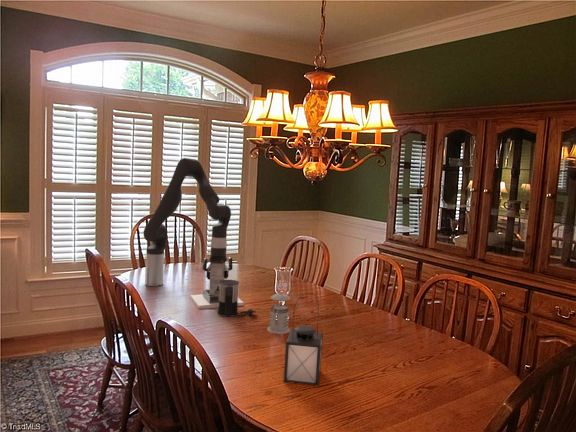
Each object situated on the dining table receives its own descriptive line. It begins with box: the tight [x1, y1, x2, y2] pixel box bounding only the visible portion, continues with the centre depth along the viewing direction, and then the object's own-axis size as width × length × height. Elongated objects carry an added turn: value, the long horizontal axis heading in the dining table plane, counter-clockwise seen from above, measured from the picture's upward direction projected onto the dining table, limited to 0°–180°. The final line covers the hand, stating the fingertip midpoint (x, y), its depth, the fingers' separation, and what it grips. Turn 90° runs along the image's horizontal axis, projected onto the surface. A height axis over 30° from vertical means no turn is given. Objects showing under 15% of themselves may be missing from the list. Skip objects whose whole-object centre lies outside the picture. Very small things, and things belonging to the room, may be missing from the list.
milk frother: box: [217, 279, 257, 317], centre depth 211 cm, size 14×16×15 cm
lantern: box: [283, 292, 324, 386], centre depth 151 cm, size 11×11×28 cm
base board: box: [189, 293, 245, 310], centre depth 230 cm, size 22×18×2 cm
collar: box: [202, 289, 219, 303], centre depth 229 cm, size 10×14×3 cm
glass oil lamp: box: [266, 270, 291, 335], centre depth 193 cm, size 10×12×25 cm
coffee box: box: [208, 261, 226, 295], centre depth 229 cm, size 9×6×16 cm
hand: (217, 278), depth 229 cm, fingers open, 8 cm apart
